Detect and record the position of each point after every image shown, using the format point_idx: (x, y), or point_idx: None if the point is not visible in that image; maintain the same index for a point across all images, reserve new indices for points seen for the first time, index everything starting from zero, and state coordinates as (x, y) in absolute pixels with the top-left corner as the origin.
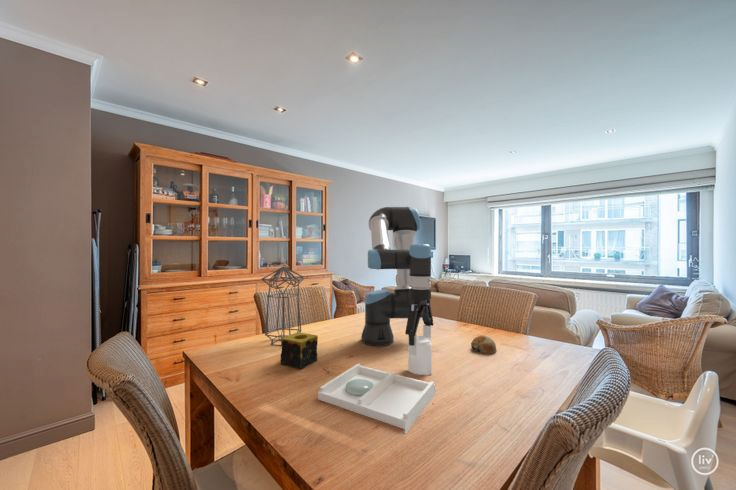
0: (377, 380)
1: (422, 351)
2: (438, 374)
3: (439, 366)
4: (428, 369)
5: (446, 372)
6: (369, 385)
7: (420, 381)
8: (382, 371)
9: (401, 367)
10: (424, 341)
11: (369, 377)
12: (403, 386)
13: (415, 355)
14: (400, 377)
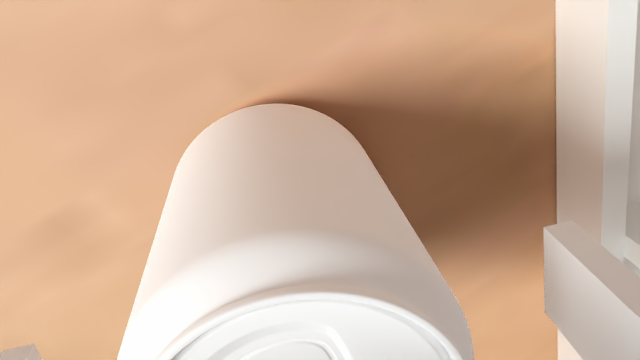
0: None
1: (414, 240)
2: (177, 65)
3: (8, 154)
4: (304, 120)
5: (73, 30)
6: None
7: (630, 10)
8: None
9: None
10: (314, 351)
11: None
12: (632, 122)
13: (573, 227)
14: (623, 187)
